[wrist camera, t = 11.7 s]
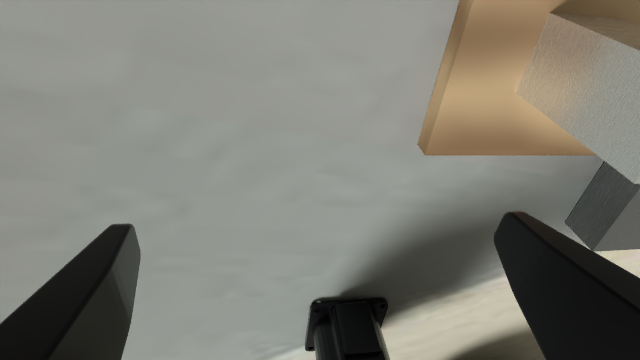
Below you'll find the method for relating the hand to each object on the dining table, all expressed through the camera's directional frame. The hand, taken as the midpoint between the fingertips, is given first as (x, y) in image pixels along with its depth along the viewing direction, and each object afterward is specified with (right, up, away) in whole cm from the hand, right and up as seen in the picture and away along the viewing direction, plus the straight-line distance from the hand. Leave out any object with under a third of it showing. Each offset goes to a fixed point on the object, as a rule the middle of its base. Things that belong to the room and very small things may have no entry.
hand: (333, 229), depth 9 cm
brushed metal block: (+12, +7, +10) cm, 18 cm away
